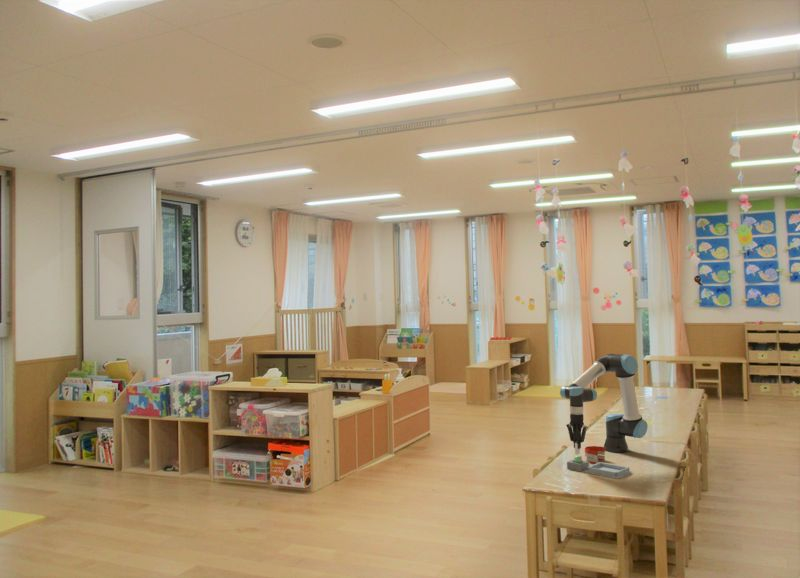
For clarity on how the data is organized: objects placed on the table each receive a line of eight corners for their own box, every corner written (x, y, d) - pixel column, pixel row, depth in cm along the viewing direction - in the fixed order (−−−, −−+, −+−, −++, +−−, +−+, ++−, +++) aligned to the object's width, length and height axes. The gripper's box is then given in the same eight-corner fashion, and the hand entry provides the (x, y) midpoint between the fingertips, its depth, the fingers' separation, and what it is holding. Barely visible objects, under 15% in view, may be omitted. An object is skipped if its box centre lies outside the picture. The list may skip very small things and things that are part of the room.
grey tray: (598, 466, 372) (598, 461, 372) (631, 473, 357) (631, 467, 357) (585, 472, 360) (584, 467, 360) (618, 479, 346) (617, 473, 346)
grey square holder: (575, 465, 375) (575, 459, 375) (589, 468, 368) (588, 461, 368) (567, 468, 369) (567, 461, 369) (581, 471, 362) (580, 464, 362)
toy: (589, 457, 393) (589, 445, 393) (606, 460, 386) (605, 447, 386) (581, 462, 383) (581, 448, 383) (598, 464, 377) (597, 451, 377)
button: (576, 463, 372) (576, 455, 372) (583, 464, 368) (582, 456, 369) (572, 464, 369) (572, 456, 369) (579, 465, 366) (579, 457, 366)
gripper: (563, 413, 371) (564, 453, 371) (583, 415, 362) (584, 456, 361) (570, 411, 376) (570, 451, 376) (590, 413, 367) (590, 454, 366)
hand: (577, 453), depth 368 cm, fingers closed
